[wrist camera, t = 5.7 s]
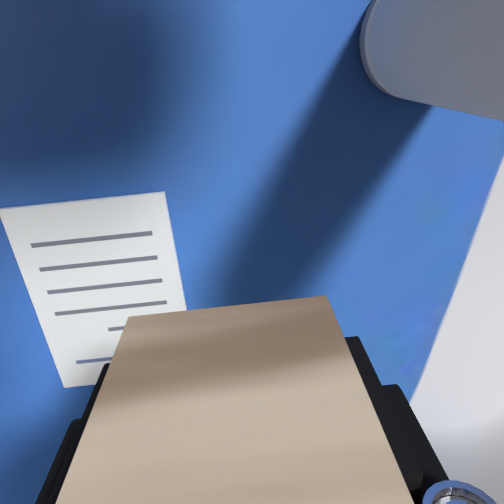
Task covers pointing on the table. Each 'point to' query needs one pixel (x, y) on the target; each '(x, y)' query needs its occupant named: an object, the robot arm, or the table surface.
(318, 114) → the table surface
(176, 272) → the letter
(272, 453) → the block
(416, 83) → the travel mug
